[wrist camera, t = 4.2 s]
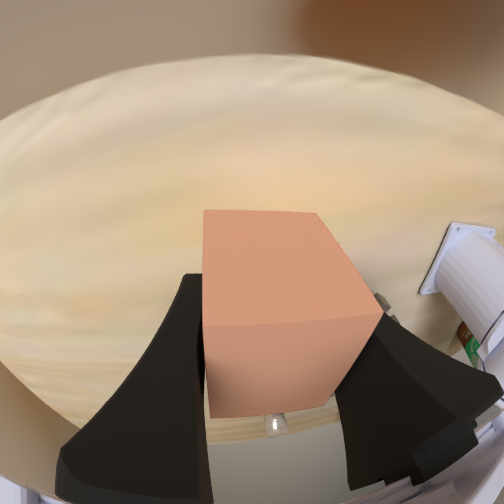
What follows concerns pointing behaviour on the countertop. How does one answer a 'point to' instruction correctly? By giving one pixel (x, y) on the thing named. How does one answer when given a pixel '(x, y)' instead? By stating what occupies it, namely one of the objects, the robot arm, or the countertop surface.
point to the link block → (278, 312)
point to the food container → (469, 343)
